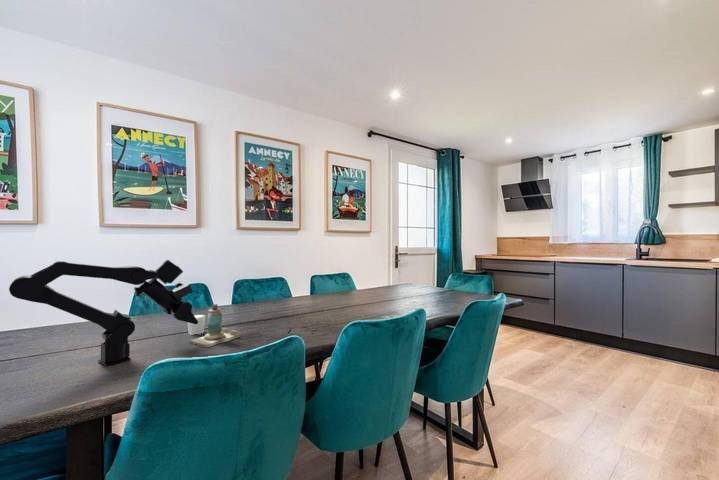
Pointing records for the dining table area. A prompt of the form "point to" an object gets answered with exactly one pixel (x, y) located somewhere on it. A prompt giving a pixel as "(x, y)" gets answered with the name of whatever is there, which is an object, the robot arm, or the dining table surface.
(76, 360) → the dining table surface
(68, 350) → the dining table surface
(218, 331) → the bobbin
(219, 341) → the notched board
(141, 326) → the dining table surface
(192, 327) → the white rounded piece
